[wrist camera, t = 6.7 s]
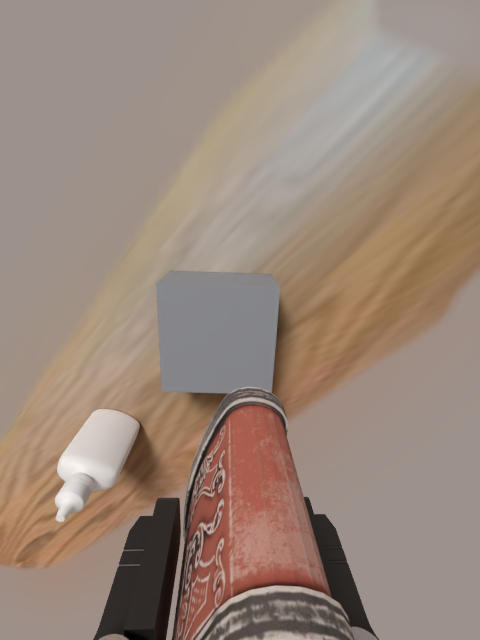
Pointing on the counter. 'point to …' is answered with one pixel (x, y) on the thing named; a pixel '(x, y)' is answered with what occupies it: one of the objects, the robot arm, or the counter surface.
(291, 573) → the lighter
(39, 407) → the counter surface
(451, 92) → the counter surface
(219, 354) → the pedestal block
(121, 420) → the eye dropper bottle
